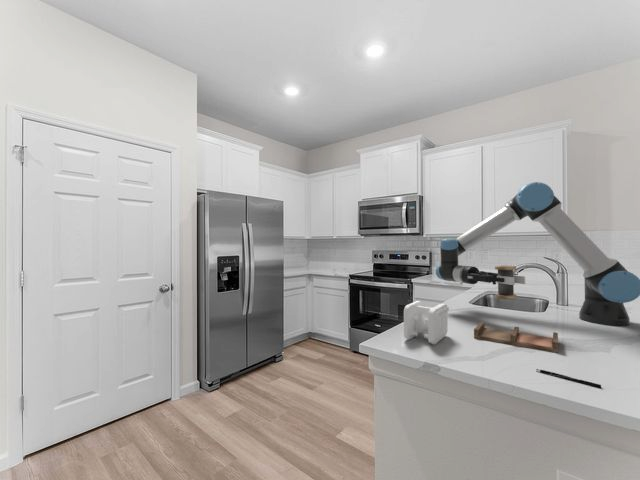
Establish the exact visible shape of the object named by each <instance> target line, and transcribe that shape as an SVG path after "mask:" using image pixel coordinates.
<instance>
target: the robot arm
mask: <svg viewBox="0 0 640 480" xmlns="http://www.w3.org/2000/svg"><path fill="white" fill-rule="evenodd" d="M526 217H528V218H529V219H530V220H531V221H532V222H538V223H540V224H541V226H542V227H543V228H544V229H545V230H546V231H547V232H548V233H549V234H550V236H552V238H554V240H555V241H556V242H557V243H558V244H559V245H560V246H561V247H562V248H563V250H564V251H565V252H566V253H567V254H568V255H569V256H570V257H571V258H572V260H574V262H575V263H577V264H578V266H579V267H580V269H582V270H583V274H582V277H583V278H584V301H583V304H582V305H581V308H580V310H579V313H578V314H579V317H578V318H579V319H581V320H583V321H586V322H590V323H595V324H601V325H606V326H608V325H609V326H629V325H630V323H631V321H630V319H631V318H630V316H629V314H628V312H627V309H626V307H625V305H624V304H625V303H630V302H633V301H634V300H636V299H638V298H639V297H640V278H639V277H638V276H637V275H636V274H634V273H633V272H631V271H628V270H627V269H626V268H625V266H624V265H622V264H621V262H620V261H619V260H617V259H614V258H609V257H608V255H606V254H605V253H604V252H603V251H602V250H601V249H600V247H598V245H596V244H595V243H594V241H593V240H591V238H590V237H589V236H588V235H587V234H586V233H585V232H584V231H583V230H582V229H581V227H579V226H578V225H577V224H576V223H575V222H574V221H573V220H572V218H571V217H569V216H568V214H567V213H566V212H565V211H564V210H563V209H562V202H561V201H560V200H559V198H557V196H556V195H555V193H554V190H553V189H552V188H551V187H550V186H549V185H548V184H547V183H544V182H538V181H536V182H535V181H533V182H530V183H526V184H525V185H523V186H522V187H521V188H520V189H519V190H518V191H517V194H515V196H514V197H513V198H512V199H510V200H509V201H508V202H506V203H505V204H504V207H502V208H501V209H500V210H498V211H496V212H494V213H493V214H491V215H490V216H489V217H487V218H485V219H484V220H482V221H481V222H479V223H477V225H475V226H474V227H472V228H470V229H469V230H467V231H466V232H464V233H462V234H461V235H459V236H458V237H456V238H444V239H441V240H440V245H439V248H440V264H438V265H437V266H436V269H435V275H436V277H437V278H438V279H440V280H444V281H446V282H455V283H460V285H463V284H469V285H475V284H478V283H479V282H481V283H488V284H490V283H492V285H497V284H498V283H501V284H509V285H513V286H514V285H515V284H521V285H522V284H523V285H526V276H523V275H515V274H513V277H506V276H498V272H492V271H484V270H483V271H482V270H479V268H478V267H477V266H472V265H471V266H468V265H462V264H461V265H460V264H459V256H460V255H462V254H464V253H465V252H467V251H468V250H470V249H471V248H473V247H475V246H477V245H478V244H480V243H481V242H483V241H484V240H486V239H487V238H489V237H490V236H492V235H494V234H496V233H497V232H498V231H500V230H502V229H504V228H505V227H507V226H508V225H511V224H512V223H513V222H515V221H521V220H522V219H524V218H526Z"/></svg>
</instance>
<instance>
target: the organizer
mask: <svg viewBox="0 0 640 480" xmlns="http://www.w3.org/2000/svg"><path fill="white" fill-rule="evenodd" d="M449 308H450V307H449V306H448V305H447V304H446V303H439V304H437V305H436V306H434V307H430V306H424V303H423V301H422V300H416V301H414V302H413V301H412V302H411V303H408V304H406V305H405V306H404V309H403V337H404V339H407V340H408V341H410V340H412V339H413V338H414V337H415V338H417V336H418V335H420V334H423V335H424V336H423V337H424V339H426V338H427V339H428V343H429V344H431V345H437V344H438V343H439V342H440V341H441V340H443V338H445V337H446V336H447V334H448V330H449V329H448V311H449Z"/></svg>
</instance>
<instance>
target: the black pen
mask: <svg viewBox="0 0 640 480" xmlns="http://www.w3.org/2000/svg"><path fill="white" fill-rule="evenodd" d="M535 372H536V373H540V374H544V375H549V376H552V377H556V378H559V379H563V380H567V381H570V382H575V383H578V384H582V385H586V386H590V387H594V388H597V389H601V388H602V384H599V383H595V382H591V381H587V380H583V379H579V378H574V377H571V376H568V375H565V374H560V373H556V372H553V371H548V370H544V369H538V368H536V371H535Z"/></svg>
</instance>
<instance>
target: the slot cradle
mask: <svg viewBox="0 0 640 480" xmlns="http://www.w3.org/2000/svg"><path fill="white" fill-rule="evenodd" d="M485 325H486V323H485V322H484V321H480V322H479V323H478V324H477V326H476V327H475V328H474V329H473V338H474V339H478V340H483V341H488V342H489V341H490V342H494V343H500V344H506V345H511V346H518V347H522V348H529V349H534V350H538V351H546V352H550V353H556V354H558V353H559V332H555V331H554V332H553V333H552V337H548V336H542V335H535V334H530V333H529V334H528V333H523V332H520V327H519V326H514V328H513V330H512V331H508V330H501V329H497V328H490V327H489V328H488V327H486V326H485Z"/></svg>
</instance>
